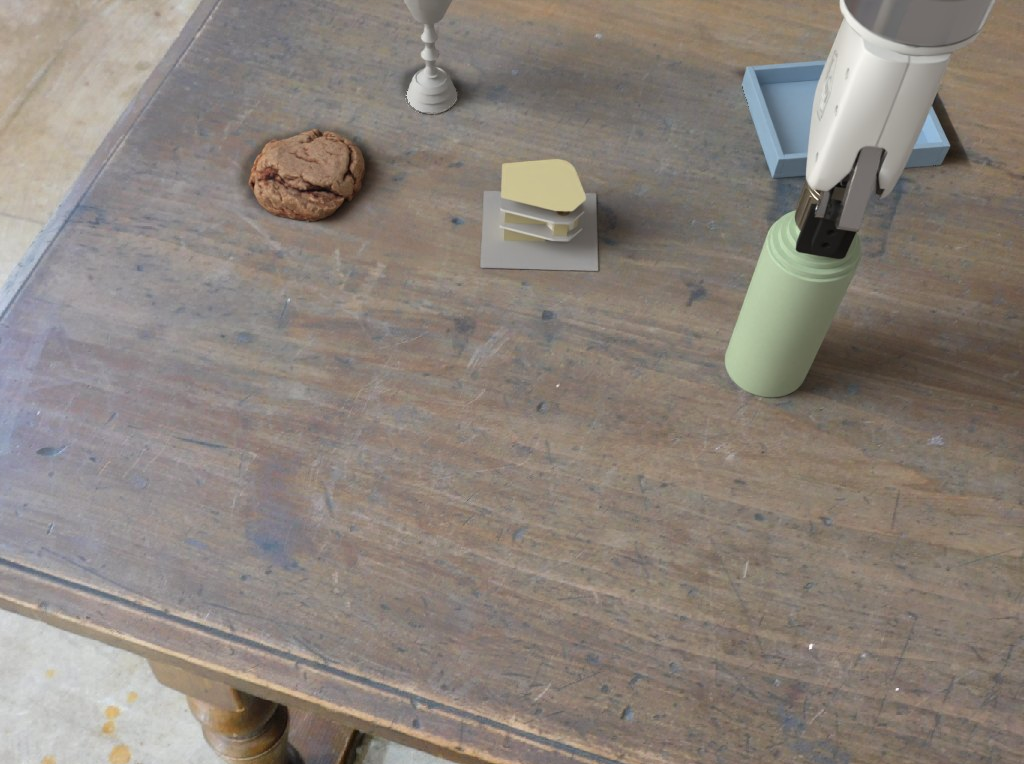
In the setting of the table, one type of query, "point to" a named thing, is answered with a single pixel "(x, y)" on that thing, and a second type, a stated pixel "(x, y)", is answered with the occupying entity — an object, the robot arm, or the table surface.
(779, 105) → the tray
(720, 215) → the table surface
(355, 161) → the cookie
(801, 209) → the bronze metal cap
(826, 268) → the bottle
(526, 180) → the stacked layers on plate
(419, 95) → the chalice
